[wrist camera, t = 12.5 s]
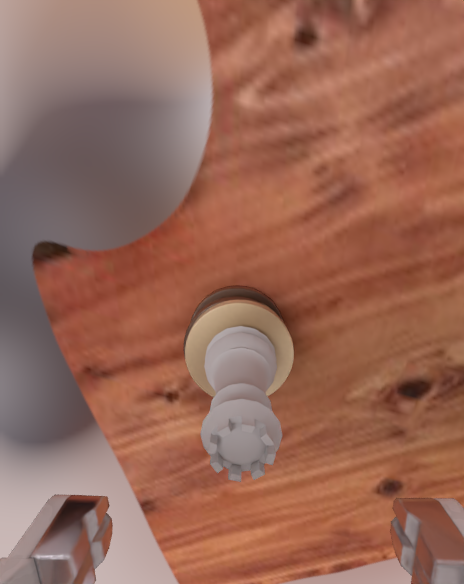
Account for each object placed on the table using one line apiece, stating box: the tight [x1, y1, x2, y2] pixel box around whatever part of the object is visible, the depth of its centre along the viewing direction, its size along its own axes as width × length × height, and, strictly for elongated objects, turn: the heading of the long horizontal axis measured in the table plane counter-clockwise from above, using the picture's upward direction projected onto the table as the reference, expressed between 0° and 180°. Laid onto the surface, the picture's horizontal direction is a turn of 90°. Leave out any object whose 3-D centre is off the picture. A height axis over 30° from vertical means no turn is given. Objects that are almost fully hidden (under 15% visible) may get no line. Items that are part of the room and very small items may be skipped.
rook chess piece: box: [201, 326, 282, 482], centre depth 14 cm, size 4×4×8 cm
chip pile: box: [184, 286, 294, 397], centre depth 20 cm, size 8×8×4 cm
